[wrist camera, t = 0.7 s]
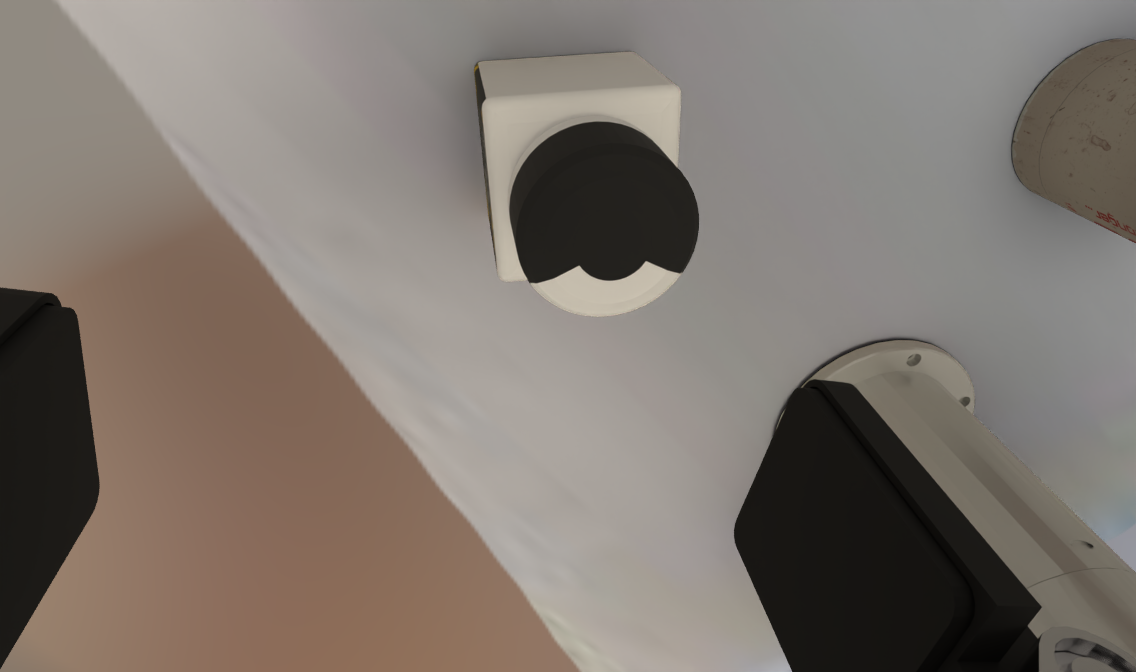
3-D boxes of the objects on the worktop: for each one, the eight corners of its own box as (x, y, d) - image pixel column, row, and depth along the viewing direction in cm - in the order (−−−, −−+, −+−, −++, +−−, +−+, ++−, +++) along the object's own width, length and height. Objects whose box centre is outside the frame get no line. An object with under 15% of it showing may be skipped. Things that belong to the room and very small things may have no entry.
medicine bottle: (472, 60, 30) (489, 141, 20) (637, 49, 31) (732, 122, 21) (488, 217, 34) (509, 353, 24) (634, 204, 35) (714, 330, 25)
